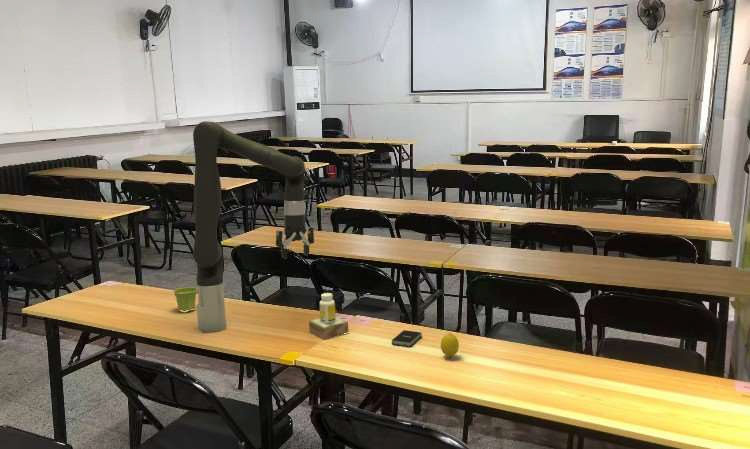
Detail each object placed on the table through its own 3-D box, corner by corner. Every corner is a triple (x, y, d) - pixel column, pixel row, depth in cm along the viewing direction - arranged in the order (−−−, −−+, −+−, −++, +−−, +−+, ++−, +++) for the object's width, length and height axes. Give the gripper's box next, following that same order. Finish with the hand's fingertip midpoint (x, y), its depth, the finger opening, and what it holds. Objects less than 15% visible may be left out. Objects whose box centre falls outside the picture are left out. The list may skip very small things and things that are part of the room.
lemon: (460, 355, 189) (460, 330, 188) (456, 361, 184) (456, 336, 183) (443, 353, 191) (442, 329, 190) (439, 359, 186) (438, 335, 185)
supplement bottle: (336, 318, 214) (335, 292, 213) (334, 323, 209) (333, 296, 207) (321, 318, 215) (320, 292, 213) (319, 323, 209) (317, 296, 208)
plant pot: (177, 307, 247) (175, 287, 245) (201, 306, 248) (199, 286, 246) (172, 315, 238) (170, 293, 236) (196, 313, 239) (195, 292, 237)
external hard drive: (391, 346, 200) (391, 340, 199) (403, 335, 209) (403, 329, 209) (410, 349, 197) (410, 343, 196) (422, 337, 206) (422, 332, 206)
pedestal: (324, 339, 206) (323, 327, 205) (309, 332, 214) (309, 320, 213) (348, 333, 212) (347, 321, 211) (333, 326, 220) (332, 314, 219)
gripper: (307, 210, 221) (307, 252, 224) (271, 213, 213) (273, 257, 215) (317, 212, 215) (317, 256, 218) (281, 215, 207) (282, 261, 209)
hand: (295, 257), depth 216 cm, fingers open, 8 cm apart
